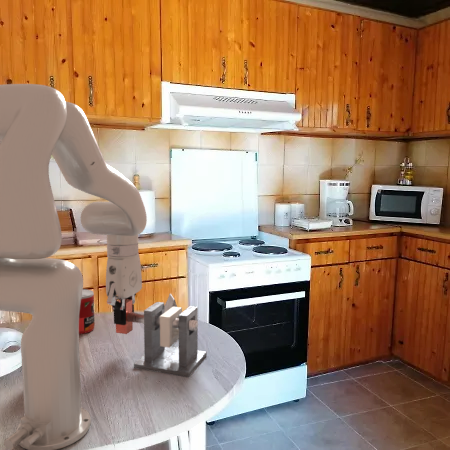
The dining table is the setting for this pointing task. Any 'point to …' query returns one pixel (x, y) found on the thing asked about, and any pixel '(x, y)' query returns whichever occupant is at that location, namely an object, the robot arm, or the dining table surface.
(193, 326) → the shaft
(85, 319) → the canned food
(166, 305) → the grey pointed block
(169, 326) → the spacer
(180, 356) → the bearing block
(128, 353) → the dining table surface
